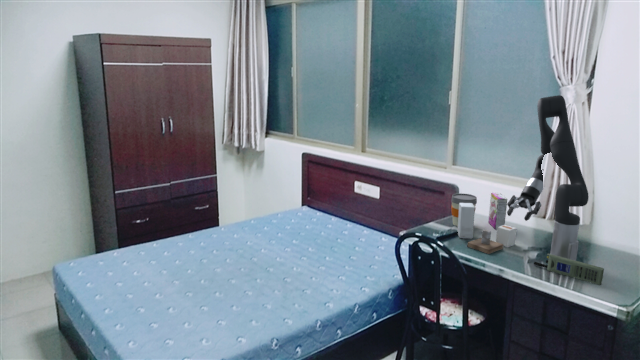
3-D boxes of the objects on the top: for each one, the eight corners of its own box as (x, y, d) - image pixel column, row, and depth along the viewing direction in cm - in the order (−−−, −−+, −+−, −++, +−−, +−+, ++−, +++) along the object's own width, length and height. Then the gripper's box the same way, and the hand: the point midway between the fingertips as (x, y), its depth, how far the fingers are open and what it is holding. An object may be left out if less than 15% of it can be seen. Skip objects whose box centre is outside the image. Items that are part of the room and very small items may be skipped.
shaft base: (502, 248, 216) (504, 231, 214) (488, 254, 209) (490, 236, 207) (481, 241, 224) (483, 225, 222) (467, 246, 217) (468, 229, 216)
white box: (514, 244, 221) (516, 227, 219) (507, 247, 217) (509, 230, 215) (503, 240, 225) (504, 224, 223) (495, 243, 222) (497, 226, 220)
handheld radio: (599, 286, 180) (531, 266, 197) (602, 284, 183) (534, 264, 199) (602, 269, 179) (534, 251, 195) (605, 267, 181) (537, 249, 198)
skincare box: (472, 239, 227) (475, 207, 223) (458, 238, 228) (461, 206, 224) (470, 233, 235) (473, 202, 231) (456, 232, 236) (458, 201, 232)
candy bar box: (487, 222, 251) (490, 192, 247) (497, 222, 251) (500, 192, 247) (494, 229, 240) (497, 198, 236) (504, 230, 240) (508, 198, 236)
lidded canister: (458, 219, 256) (461, 192, 253) (479, 225, 247) (482, 197, 243) (444, 223, 248) (446, 195, 245) (465, 230, 239) (467, 201, 235)
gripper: (516, 182, 230) (500, 209, 226) (545, 188, 219) (529, 216, 215) (521, 191, 235) (505, 217, 230) (549, 197, 224) (533, 225, 220)
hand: (516, 217), depth 223 cm, fingers open, 8 cm apart
